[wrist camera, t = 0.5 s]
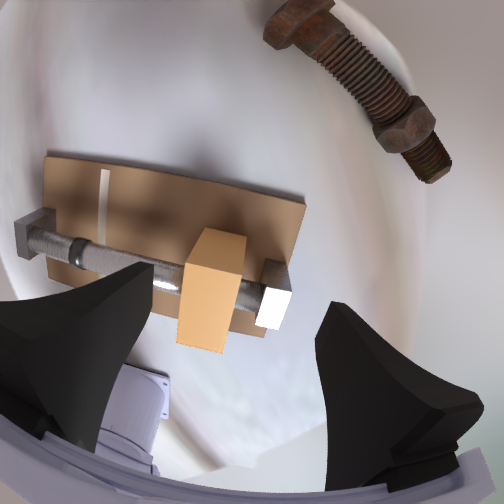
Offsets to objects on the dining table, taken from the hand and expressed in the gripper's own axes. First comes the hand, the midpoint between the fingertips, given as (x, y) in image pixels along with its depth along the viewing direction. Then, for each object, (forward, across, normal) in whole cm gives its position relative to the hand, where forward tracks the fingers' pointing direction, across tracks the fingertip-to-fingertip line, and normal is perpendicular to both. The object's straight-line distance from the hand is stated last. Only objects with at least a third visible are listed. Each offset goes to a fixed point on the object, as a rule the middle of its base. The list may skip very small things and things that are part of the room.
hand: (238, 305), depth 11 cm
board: (+10, +8, +3) cm, 13 cm away
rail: (+10, +8, +3) cm, 13 cm away
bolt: (+11, -6, -12) cm, 17 cm away
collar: (+9, +1, +3) cm, 10 cm away
